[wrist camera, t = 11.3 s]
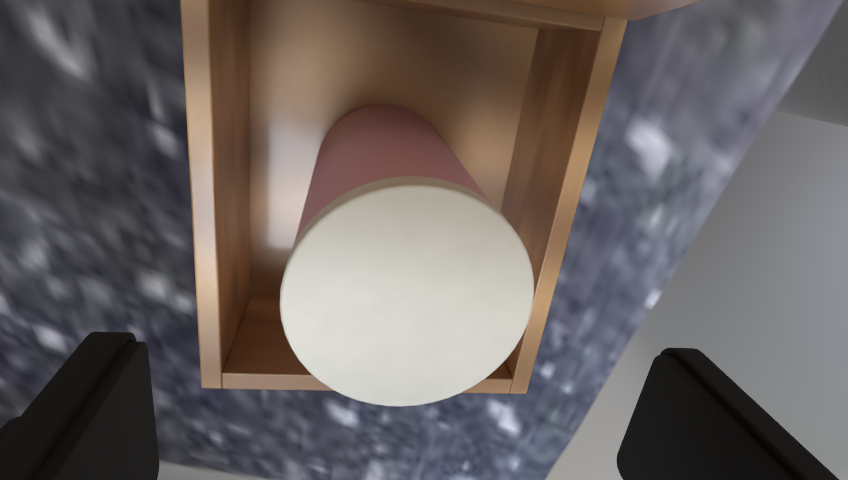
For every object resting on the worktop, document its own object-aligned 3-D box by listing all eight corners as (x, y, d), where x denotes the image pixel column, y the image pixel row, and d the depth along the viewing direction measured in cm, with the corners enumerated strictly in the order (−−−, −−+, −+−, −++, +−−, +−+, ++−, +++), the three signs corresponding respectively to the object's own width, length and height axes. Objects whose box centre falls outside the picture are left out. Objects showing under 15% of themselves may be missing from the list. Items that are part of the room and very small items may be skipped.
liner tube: (474, 141, 23) (583, 249, 12) (412, 252, 25) (459, 432, 14) (349, 76, 21) (345, 136, 10) (294, 202, 23) (240, 366, 12)
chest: (488, 311, 28) (526, 394, 22) (237, 300, 25) (200, 388, 19) (552, 12, 22) (631, 8, 16) (231, -40, 19) (175, -68, 13)
